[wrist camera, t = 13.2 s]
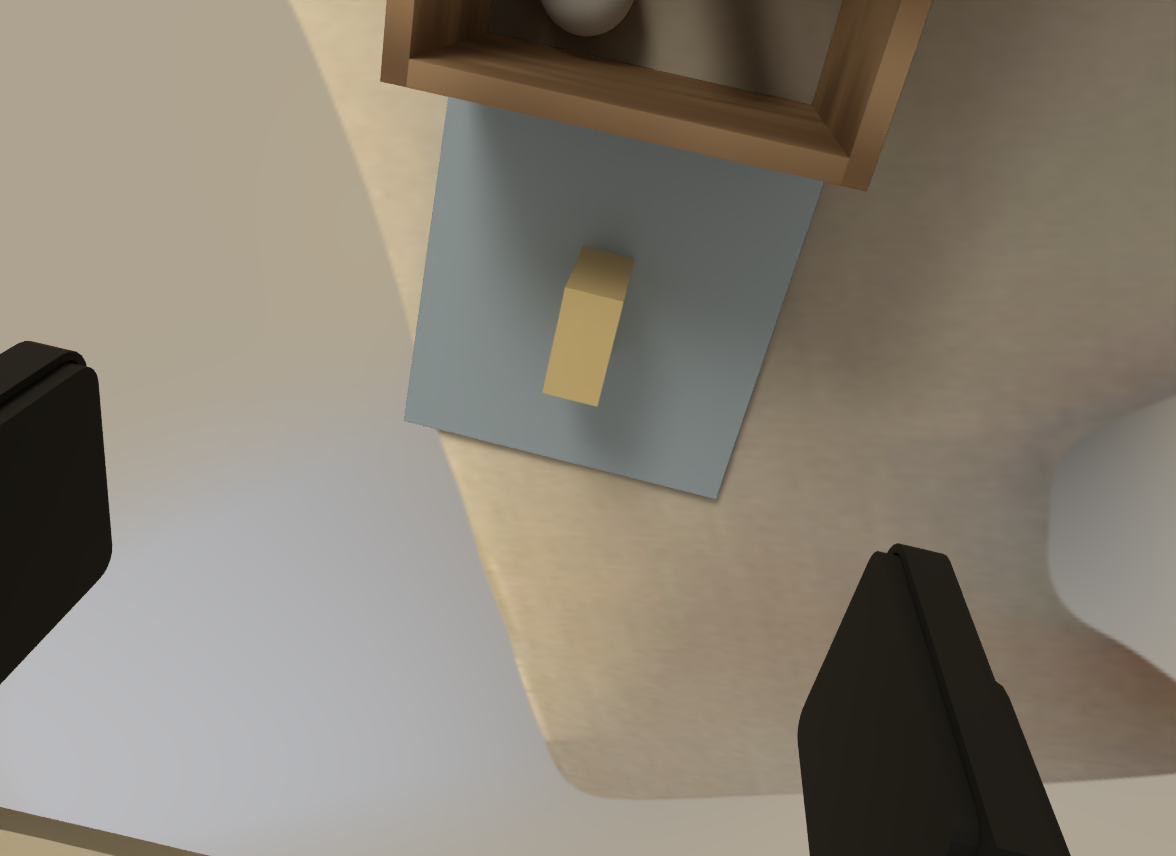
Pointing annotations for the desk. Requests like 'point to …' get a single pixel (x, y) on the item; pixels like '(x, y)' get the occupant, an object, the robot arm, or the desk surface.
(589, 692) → the desk surface
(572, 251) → the lid
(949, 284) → the desk surface
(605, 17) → the grey ball
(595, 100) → the box
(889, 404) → the desk surface
